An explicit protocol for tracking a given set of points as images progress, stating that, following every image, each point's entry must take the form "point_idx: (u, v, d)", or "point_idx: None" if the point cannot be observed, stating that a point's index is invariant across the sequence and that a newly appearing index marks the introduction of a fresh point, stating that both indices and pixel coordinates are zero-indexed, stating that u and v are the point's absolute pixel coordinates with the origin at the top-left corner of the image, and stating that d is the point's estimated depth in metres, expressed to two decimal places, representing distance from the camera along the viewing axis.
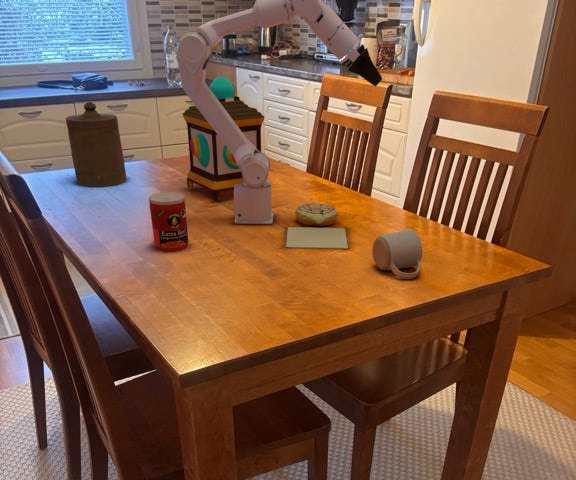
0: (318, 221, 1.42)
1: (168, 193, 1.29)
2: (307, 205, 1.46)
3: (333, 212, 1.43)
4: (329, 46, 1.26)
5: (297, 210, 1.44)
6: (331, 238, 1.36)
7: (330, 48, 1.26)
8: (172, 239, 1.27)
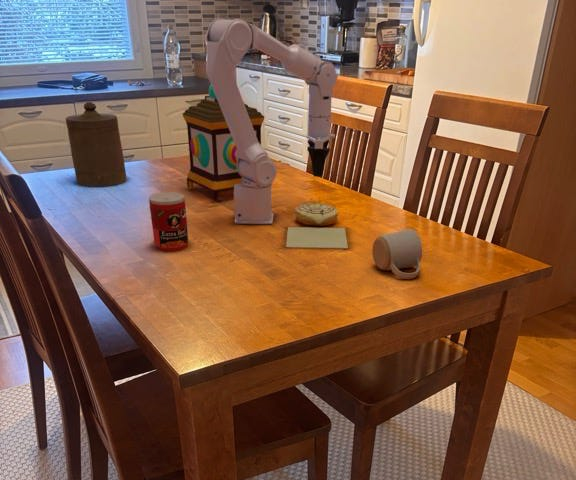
0: (318, 221, 1.42)
1: (168, 193, 1.29)
2: (307, 205, 1.46)
3: (333, 212, 1.43)
4: (309, 120, 1.43)
5: (297, 210, 1.44)
6: (331, 238, 1.36)
7: (309, 122, 1.43)
8: (172, 239, 1.27)
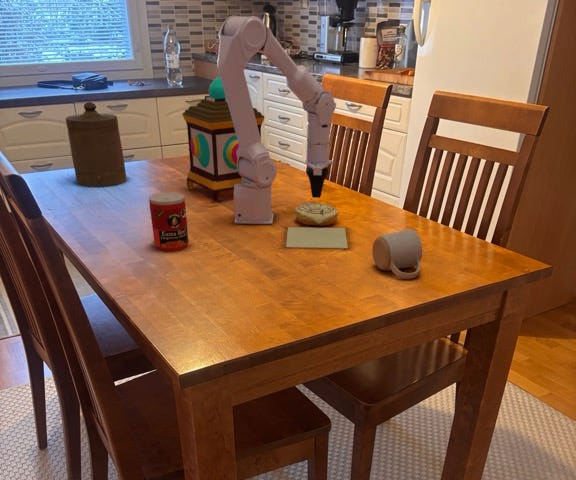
0: (318, 221, 1.42)
1: (168, 193, 1.29)
2: (307, 205, 1.46)
3: (333, 212, 1.43)
4: (308, 147, 1.46)
5: (297, 210, 1.44)
6: (331, 238, 1.36)
7: (308, 149, 1.47)
8: (172, 239, 1.27)
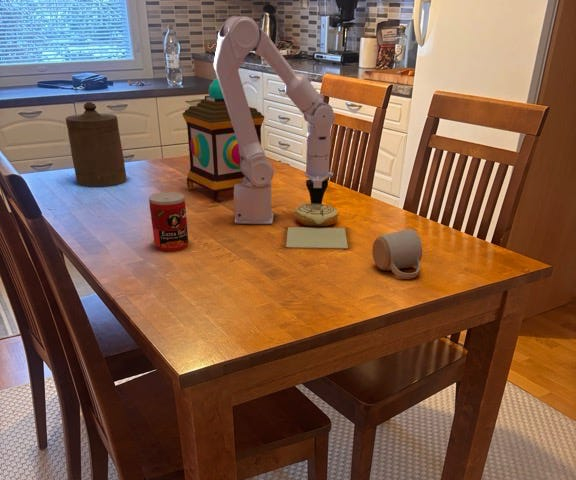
0: (318, 222, 1.41)
1: (168, 193, 1.29)
2: (307, 205, 1.46)
3: (333, 212, 1.43)
4: (308, 159, 1.43)
5: (297, 211, 1.44)
6: (331, 238, 1.36)
7: (307, 161, 1.44)
8: (172, 239, 1.27)
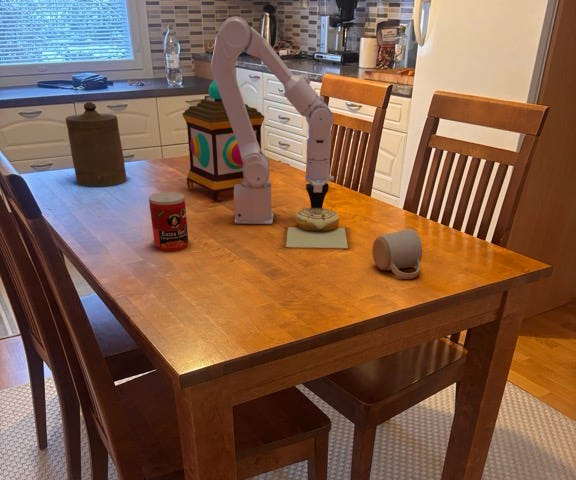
0: (319, 226, 1.38)
1: (168, 193, 1.29)
2: (307, 210, 1.43)
3: (334, 216, 1.40)
4: (308, 163, 1.40)
5: (297, 215, 1.41)
6: (331, 238, 1.36)
7: (307, 164, 1.41)
8: (172, 239, 1.27)
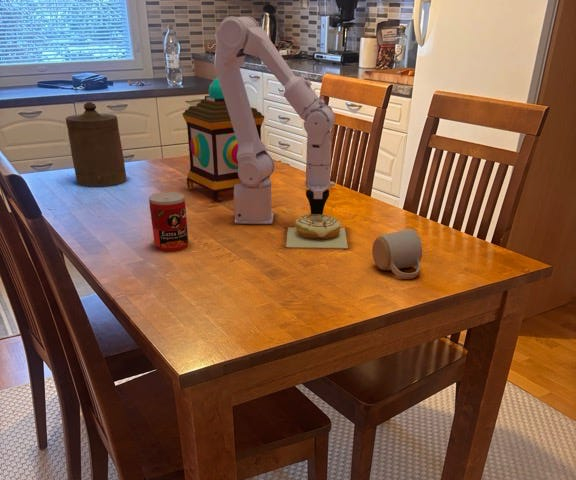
0: (321, 234, 1.34)
1: (168, 193, 1.29)
2: (308, 217, 1.38)
3: (336, 224, 1.35)
4: (308, 168, 1.35)
5: (298, 223, 1.36)
6: (331, 238, 1.36)
7: (307, 170, 1.36)
8: (172, 239, 1.27)
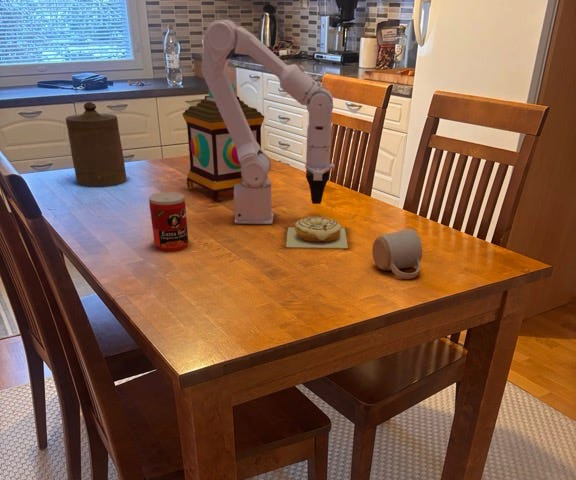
0: (321, 237, 1.32)
1: (168, 193, 1.29)
2: (308, 219, 1.36)
3: (336, 227, 1.34)
4: (308, 150, 1.37)
5: (298, 225, 1.34)
6: None
7: (308, 152, 1.37)
8: (172, 239, 1.27)
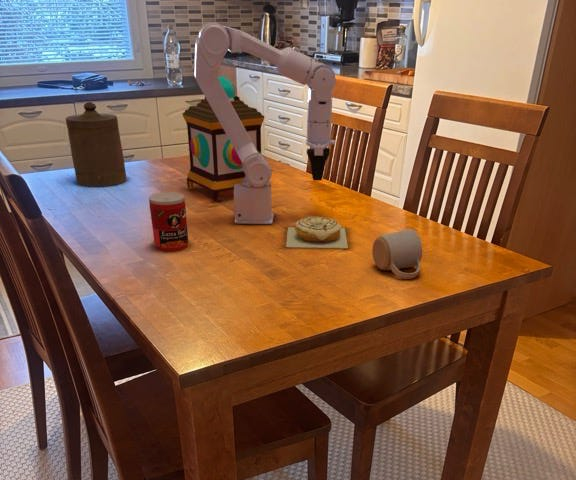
0: (321, 237, 1.32)
1: (168, 193, 1.29)
2: (308, 219, 1.36)
3: (336, 227, 1.34)
4: (309, 126, 1.37)
5: (298, 225, 1.34)
6: None
7: (308, 127, 1.38)
8: (172, 239, 1.27)
